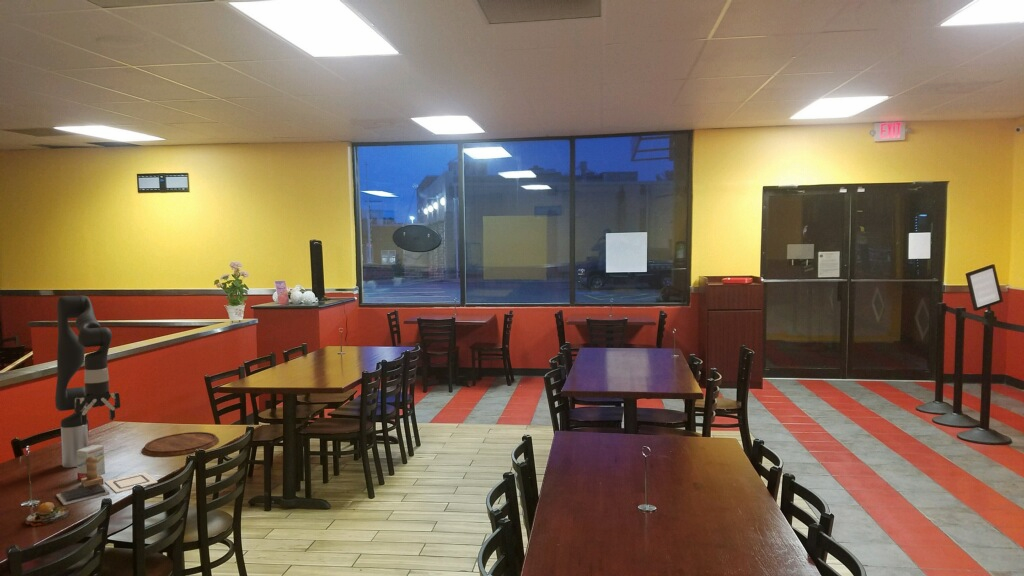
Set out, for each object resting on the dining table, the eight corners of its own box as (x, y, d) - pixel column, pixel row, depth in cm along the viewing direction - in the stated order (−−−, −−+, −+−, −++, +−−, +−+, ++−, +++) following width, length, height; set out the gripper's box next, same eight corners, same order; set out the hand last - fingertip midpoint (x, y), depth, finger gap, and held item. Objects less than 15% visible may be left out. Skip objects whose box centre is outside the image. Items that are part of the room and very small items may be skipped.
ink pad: (56, 496, 221) (56, 492, 221) (101, 485, 232) (100, 482, 232) (63, 505, 213) (63, 501, 213) (109, 493, 224) (109, 490, 223)
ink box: (86, 480, 237) (85, 451, 237) (76, 479, 238) (75, 450, 238) (105, 472, 246) (104, 444, 245) (95, 472, 247) (94, 444, 246)
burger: (77, 511, 209) (76, 490, 209) (52, 526, 197) (51, 504, 197) (42, 512, 208) (41, 491, 208) (15, 527, 197) (14, 505, 196)
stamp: (81, 484, 233) (79, 456, 232) (99, 480, 237) (98, 453, 237) (84, 488, 229) (83, 460, 228) (103, 484, 233) (102, 456, 233)
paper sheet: (105, 482, 235) (105, 481, 235) (145, 472, 245) (145, 471, 245) (116, 493, 224) (116, 491, 224) (157, 482, 235) (157, 481, 235)
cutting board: (165, 462, 259) (165, 456, 259) (128, 450, 276) (127, 444, 276) (233, 442, 287) (233, 437, 286) (195, 432, 303) (195, 427, 303)
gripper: (115, 375, 233) (117, 416, 234) (71, 381, 223) (73, 424, 224) (121, 378, 228) (122, 420, 229) (76, 384, 218) (77, 428, 219)
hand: (98, 422), depth 226 cm, fingers open, 8 cm apart
